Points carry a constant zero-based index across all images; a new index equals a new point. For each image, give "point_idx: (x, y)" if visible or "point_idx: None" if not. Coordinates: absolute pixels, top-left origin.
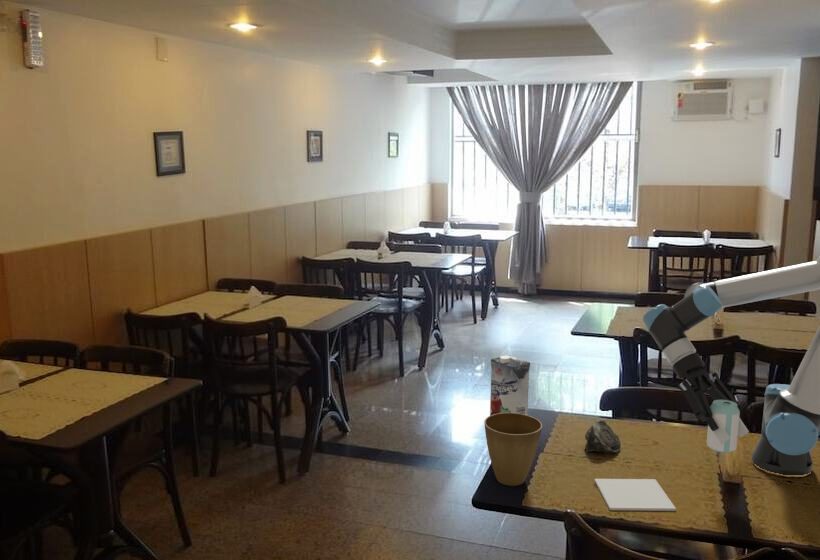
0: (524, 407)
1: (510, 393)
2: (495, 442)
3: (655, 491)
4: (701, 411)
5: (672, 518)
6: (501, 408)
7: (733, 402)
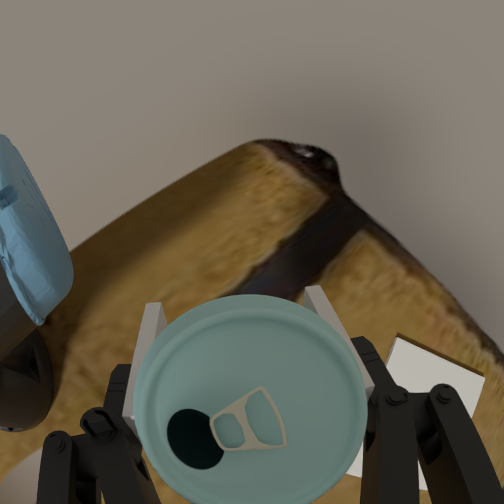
0: None
1: None
2: None
3: None
4: (461, 403)
5: (418, 314)
6: None
7: (148, 403)
